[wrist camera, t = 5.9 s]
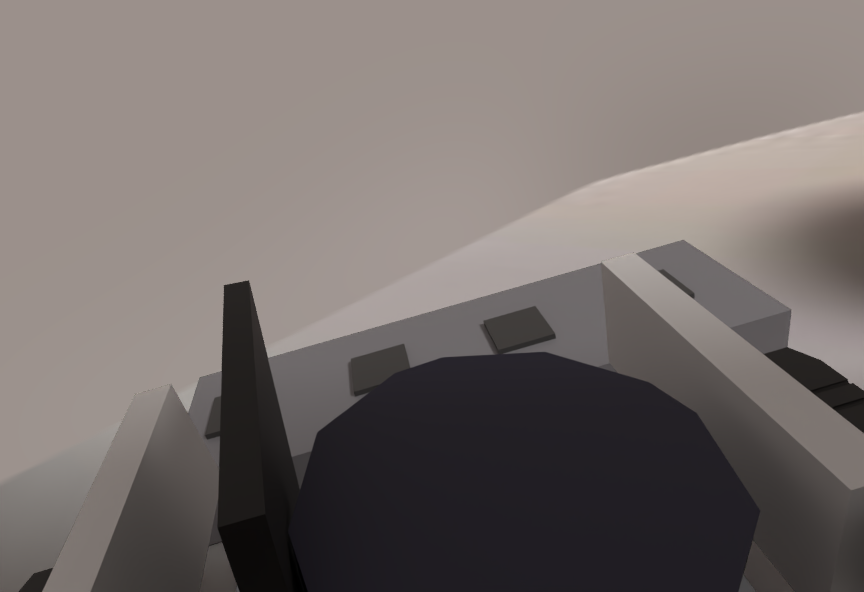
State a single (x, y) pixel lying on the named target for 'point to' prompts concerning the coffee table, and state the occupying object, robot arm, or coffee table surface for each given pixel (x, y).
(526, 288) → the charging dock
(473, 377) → the speaker
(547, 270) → the coffee table surface
